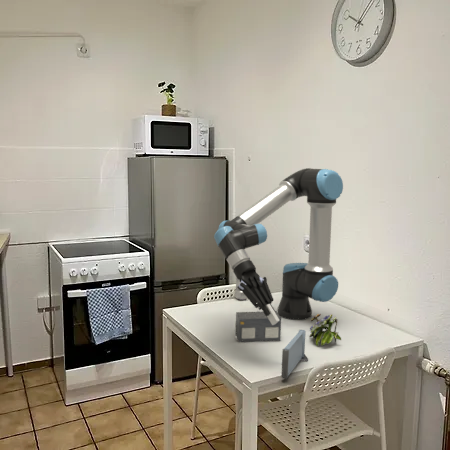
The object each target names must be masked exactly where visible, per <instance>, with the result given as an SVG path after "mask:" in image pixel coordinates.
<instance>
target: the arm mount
mask: <svg viewBox="0 0 450 450" xmlns="http://www.w3.org/2000/svg"><path fill="white" fill-rule="evenodd" d="M299 362H309V358H308V356H306V354H305V353H304V357H302V358H301V359H300V361H299ZM299 362H298V363H299Z"/></svg>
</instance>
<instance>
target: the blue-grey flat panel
mask: <svg viewBox="0 0 450 450" xmlns="http://www.w3.org/2000/svg"><path fill="white" fill-rule="evenodd" d="M297 331H298V332H297V333H296V335H295V336H294V337H293V338H292V339H291V340H290V341H289V342H288V344H287V345H286V346H285V347H284V348H282V351H281V353H282V354H281V378H282V379H288V378H289V376H290V374H291V373H292V371H293V370H294V369H295V368H296V366H297V365H298V363H299V361H300V359H301V358H302V357H304V354H305V352H306V351H305V350H306V349H305V348H306V347H305V346H306V332H307V331H306V330H305V329H299V330H297Z"/></svg>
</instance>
